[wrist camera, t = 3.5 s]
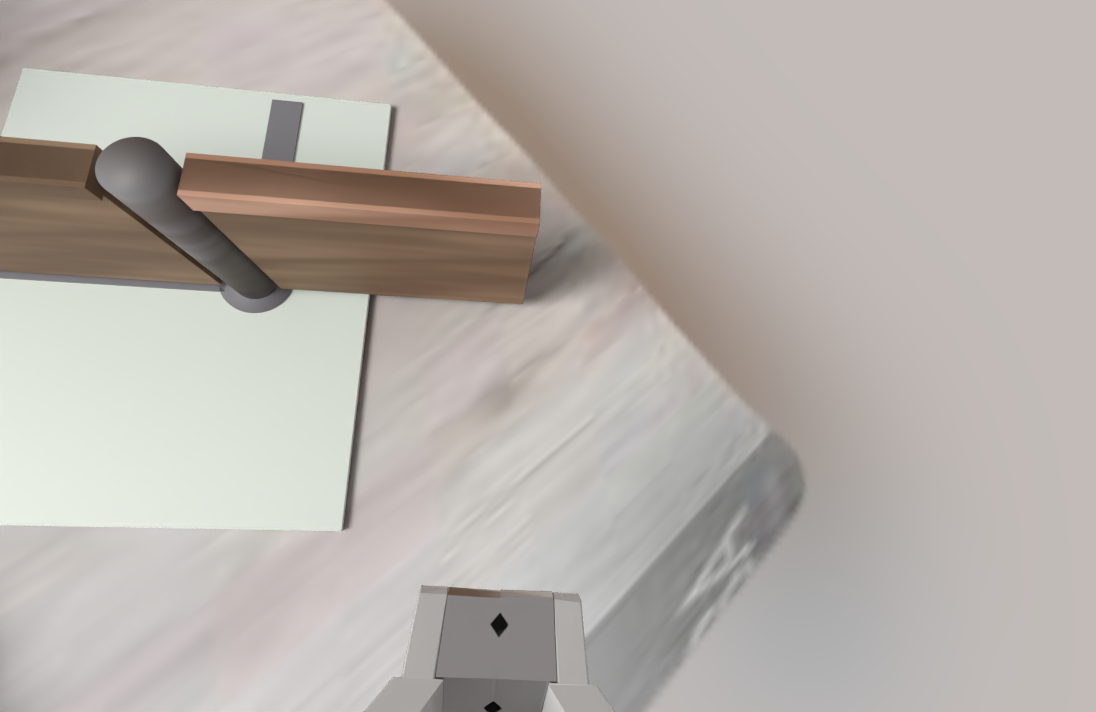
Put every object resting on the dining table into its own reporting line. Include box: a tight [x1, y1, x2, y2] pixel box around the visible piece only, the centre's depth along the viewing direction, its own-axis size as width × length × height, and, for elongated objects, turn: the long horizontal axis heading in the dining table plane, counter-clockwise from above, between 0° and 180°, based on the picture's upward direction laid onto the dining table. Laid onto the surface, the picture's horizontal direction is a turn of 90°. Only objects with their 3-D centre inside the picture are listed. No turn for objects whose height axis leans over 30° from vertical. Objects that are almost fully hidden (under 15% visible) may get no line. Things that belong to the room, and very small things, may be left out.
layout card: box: [0, 68, 392, 531], centre depth 26 cm, size 23×19×1 cm
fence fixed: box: [0, 136, 278, 299], centre depth 21 cm, size 2×14×10 cm, turn 88°
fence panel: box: [177, 153, 541, 304], centre depth 22 cm, size 2×12×9 cm, turn 88°
